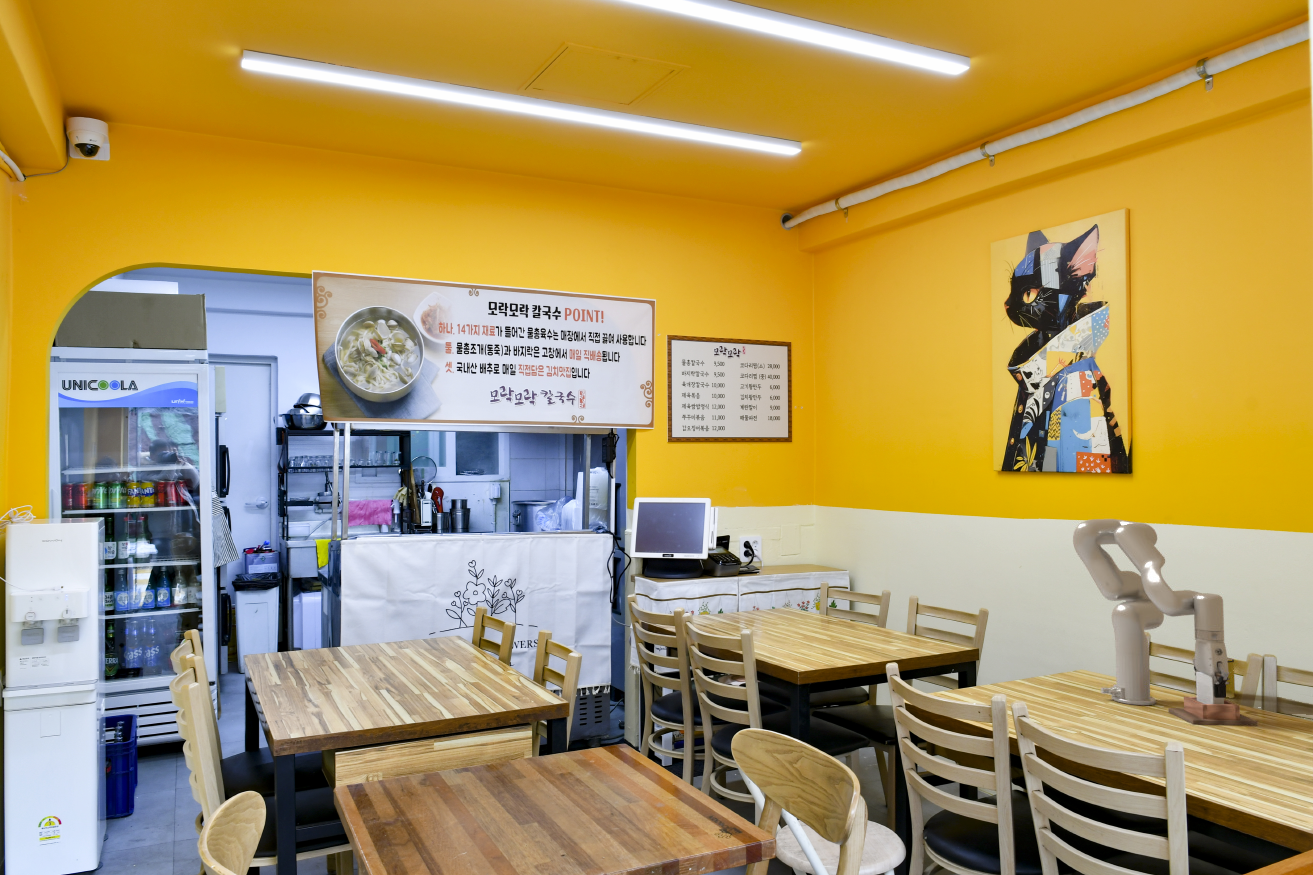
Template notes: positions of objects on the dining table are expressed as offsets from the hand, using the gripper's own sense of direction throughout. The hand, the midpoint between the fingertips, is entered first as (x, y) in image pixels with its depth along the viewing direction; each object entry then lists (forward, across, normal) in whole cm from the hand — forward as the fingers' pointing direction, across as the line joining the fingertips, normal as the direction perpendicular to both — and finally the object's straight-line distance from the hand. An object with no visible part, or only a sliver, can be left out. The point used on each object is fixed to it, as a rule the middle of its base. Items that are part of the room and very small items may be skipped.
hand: (1210, 693), depth 269 cm
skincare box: (+6, 0, 0) cm, 6 cm away
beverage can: (+8, +31, -19) cm, 37 cm away
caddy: (+7, 0, 0) cm, 7 cm away
